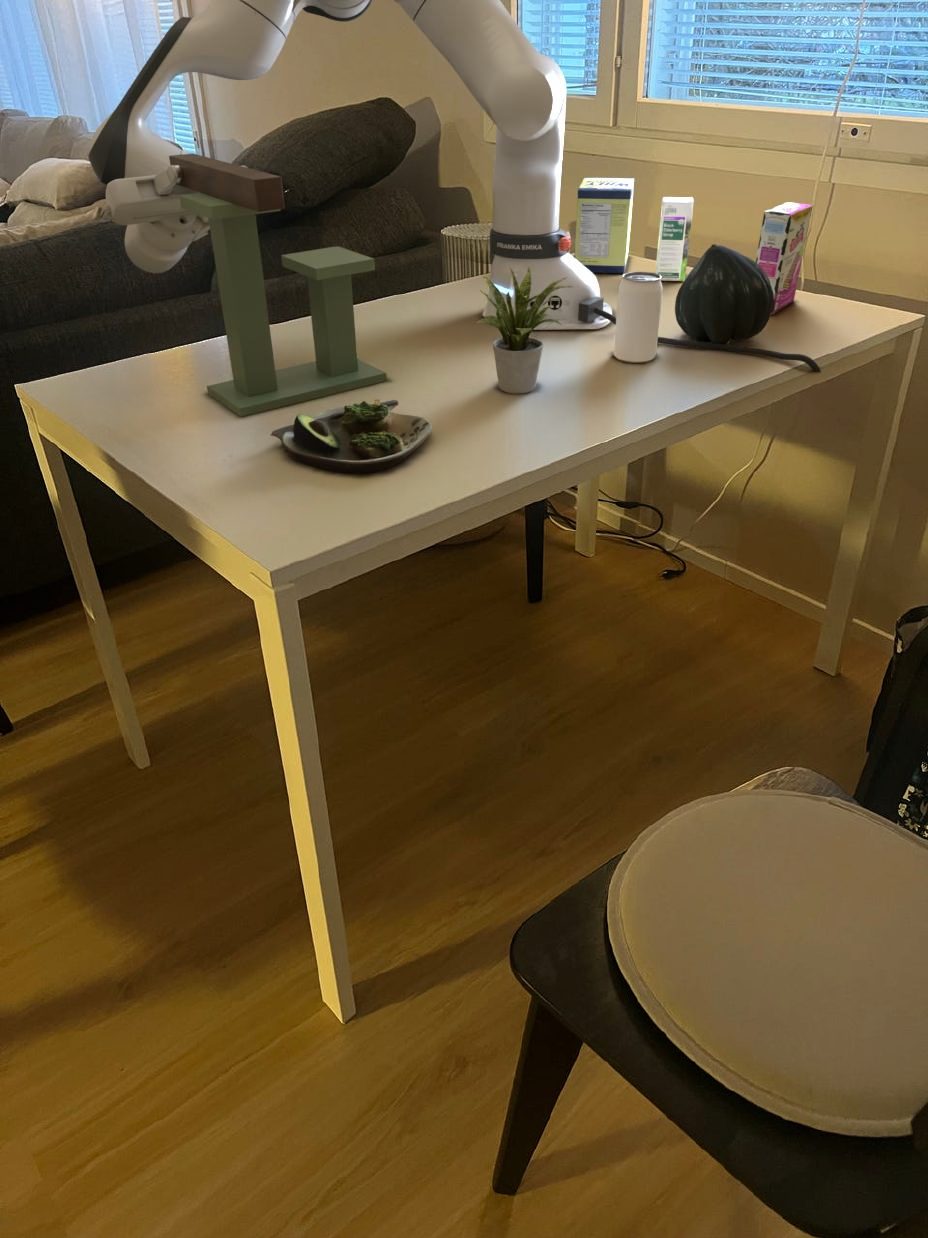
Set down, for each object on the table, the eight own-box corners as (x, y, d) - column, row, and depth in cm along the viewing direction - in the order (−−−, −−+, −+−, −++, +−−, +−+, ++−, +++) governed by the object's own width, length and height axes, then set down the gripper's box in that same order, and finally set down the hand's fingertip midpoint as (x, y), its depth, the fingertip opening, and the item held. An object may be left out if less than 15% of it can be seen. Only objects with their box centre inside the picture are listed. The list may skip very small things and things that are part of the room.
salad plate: (346, 403, 127) (343, 370, 124) (460, 425, 120) (459, 391, 117) (256, 454, 113) (251, 419, 110) (379, 483, 106) (376, 445, 103)
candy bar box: (773, 315, 159) (791, 214, 150) (746, 311, 162) (762, 210, 153) (796, 301, 167) (814, 203, 158) (769, 297, 169) (785, 200, 160)
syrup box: (654, 281, 180) (663, 200, 172) (654, 273, 185) (662, 195, 177) (684, 281, 179) (694, 201, 171) (683, 274, 184) (693, 195, 176)
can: (655, 364, 139) (663, 282, 132) (611, 362, 140) (618, 280, 133) (656, 351, 144) (664, 271, 137) (614, 349, 145) (620, 269, 138)
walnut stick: (173, 183, 124) (168, 155, 122) (197, 180, 125) (193, 153, 123) (258, 212, 106) (254, 179, 104) (284, 208, 108) (281, 176, 106)
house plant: (583, 404, 126) (591, 280, 117) (484, 411, 124) (484, 286, 115) (557, 370, 137) (563, 255, 128) (466, 376, 136) (465, 260, 126)
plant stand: (208, 393, 131) (173, 194, 116) (348, 361, 142) (333, 176, 127) (241, 416, 123) (208, 207, 109) (386, 380, 134) (375, 186, 120)
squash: (802, 315, 140) (772, 225, 142) (716, 330, 136) (687, 237, 138) (753, 356, 154) (726, 273, 155) (674, 370, 150) (648, 285, 151)
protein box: (628, 256, 197) (635, 176, 189) (625, 274, 185) (632, 189, 176) (579, 255, 199) (583, 176, 190) (573, 272, 186) (577, 188, 178)
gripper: (90, 198, 127) (107, 151, 115) (228, 182, 137) (257, 137, 125) (107, 244, 128) (125, 201, 116) (243, 224, 138) (273, 184, 126)
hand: (195, 168), depth 120 cm, fingers closed on walnut stick, 3 cm apart
